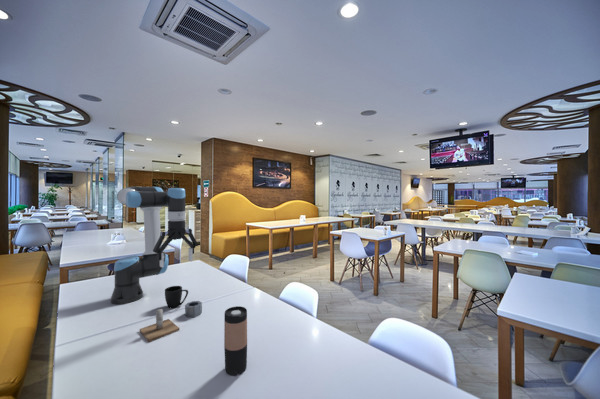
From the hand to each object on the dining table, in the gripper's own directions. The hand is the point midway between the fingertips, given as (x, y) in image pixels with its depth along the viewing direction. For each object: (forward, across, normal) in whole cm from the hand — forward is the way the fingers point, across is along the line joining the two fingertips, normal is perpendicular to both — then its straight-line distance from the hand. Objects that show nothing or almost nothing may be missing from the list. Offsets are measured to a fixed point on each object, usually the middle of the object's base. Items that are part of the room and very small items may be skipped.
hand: (176, 263), depth 121 cm
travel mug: (+25, -2, -52) cm, 58 cm away
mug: (+27, +5, +11) cm, 29 cm away
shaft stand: (+26, -10, -7) cm, 29 cm away
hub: (+26, +7, -4) cm, 27 cm away
